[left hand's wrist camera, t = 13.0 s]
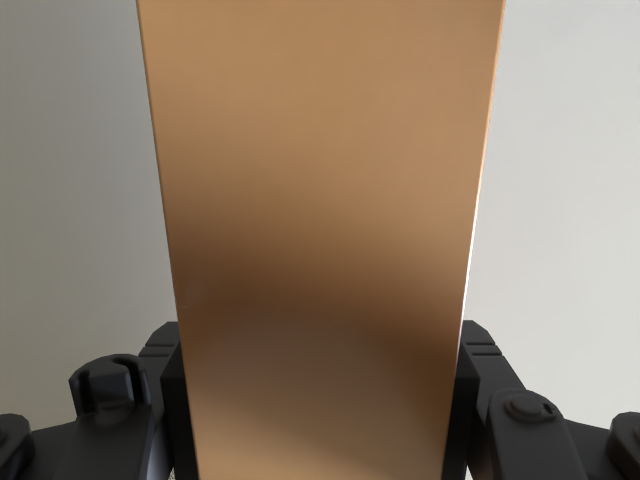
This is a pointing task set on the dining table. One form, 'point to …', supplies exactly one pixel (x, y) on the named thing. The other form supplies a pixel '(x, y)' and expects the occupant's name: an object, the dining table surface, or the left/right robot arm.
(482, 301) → the dining table surface
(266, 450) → the bar
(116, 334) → the dining table surface
